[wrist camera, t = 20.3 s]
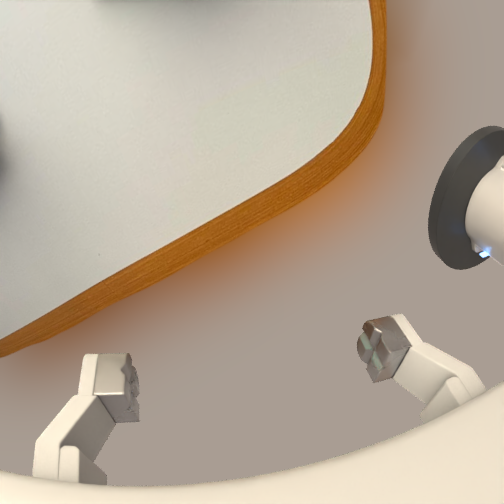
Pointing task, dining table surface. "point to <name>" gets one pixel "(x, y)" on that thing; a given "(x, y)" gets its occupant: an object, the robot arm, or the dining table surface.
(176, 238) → the dining table surface
